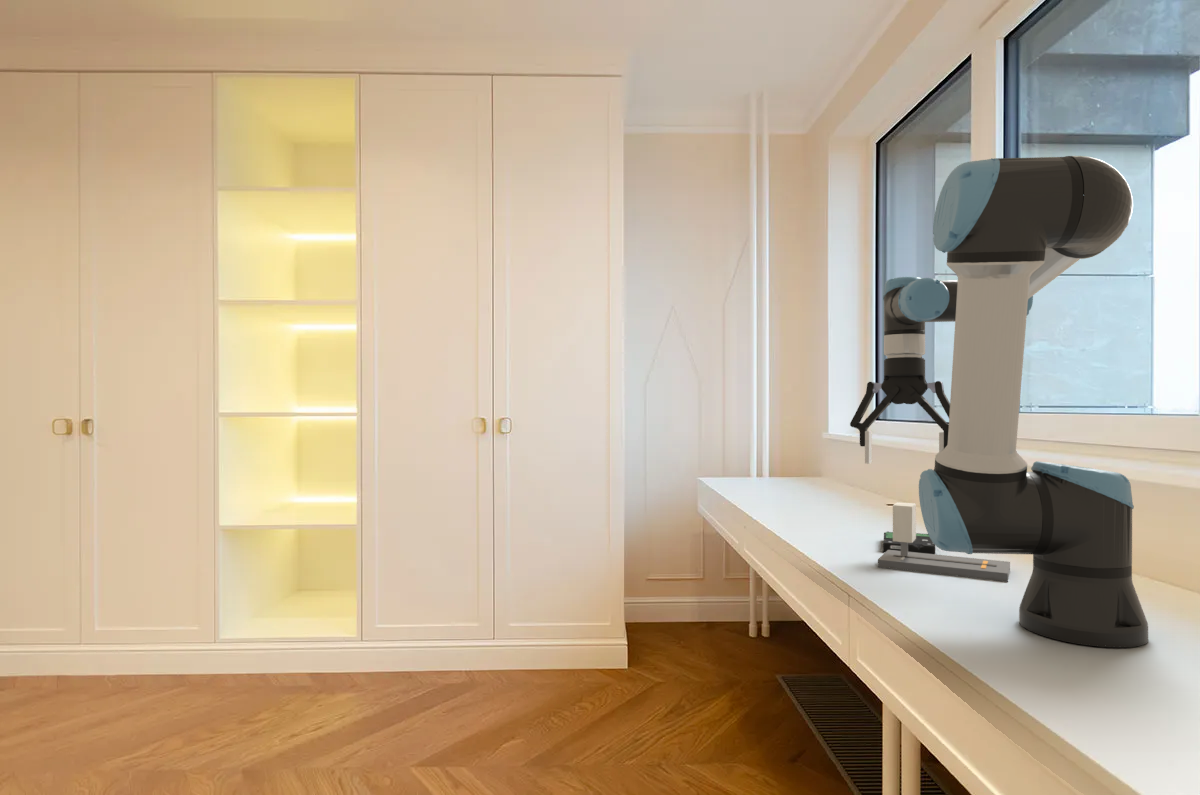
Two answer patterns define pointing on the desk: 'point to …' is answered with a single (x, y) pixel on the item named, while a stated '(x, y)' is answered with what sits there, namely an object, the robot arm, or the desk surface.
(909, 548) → the disk drive
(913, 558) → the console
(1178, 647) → the desk surface
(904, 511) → the fader
